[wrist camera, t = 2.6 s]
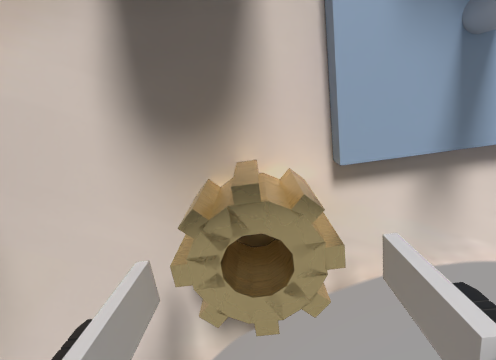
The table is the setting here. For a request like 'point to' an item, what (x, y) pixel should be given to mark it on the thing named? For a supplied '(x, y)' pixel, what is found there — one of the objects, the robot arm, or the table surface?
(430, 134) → the gear board
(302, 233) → the brass gear
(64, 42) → the table surface
